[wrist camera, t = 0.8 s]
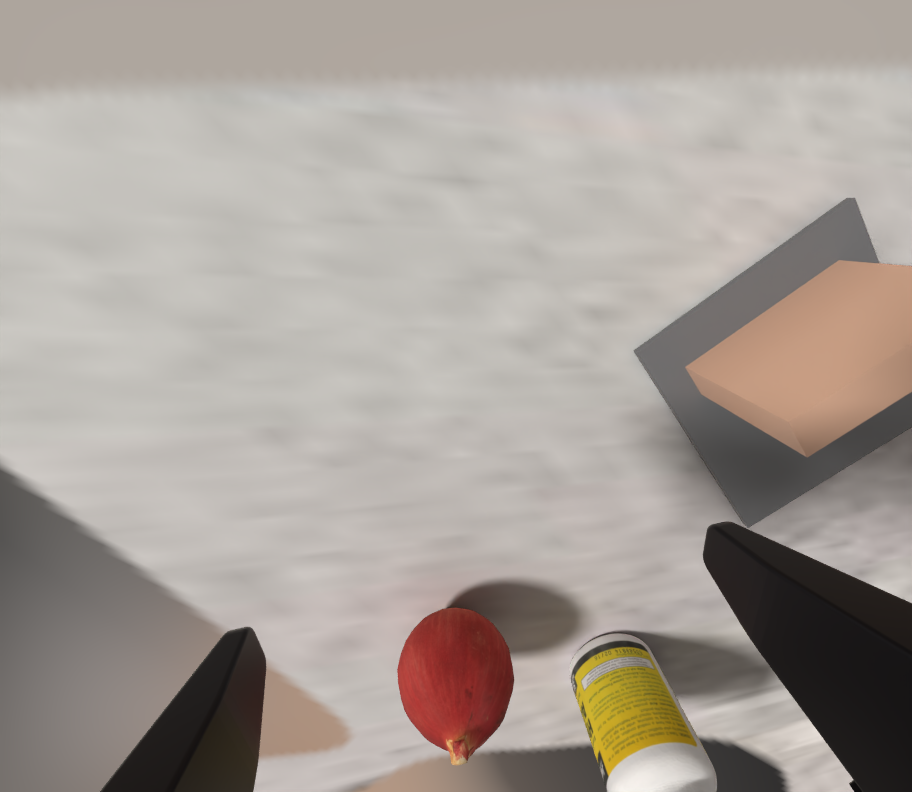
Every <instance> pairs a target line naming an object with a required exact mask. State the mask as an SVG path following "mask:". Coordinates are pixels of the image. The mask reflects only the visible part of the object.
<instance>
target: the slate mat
mask: <svg viewBox="0 0 912 792" xmlns="http://www.w3.org/2000/svg"><path fill="white" fill-rule="evenodd" d="M838 260H843V261H855V262H867V263H879V262H878V259H877V256H876V254H875V251H874V248H873V246H872V243H871V240H870V238H869V235H868V232H867V230H866V227H865V224H864V222H863V219H862V216H861V214H860V211H859V208H858V205H857V203H856V200H855V198H846V199H845V200H843V201H842V202H841V203H839V204H838V205H836V206H835V207H834V208H832V209H831V210H830V211H828V212H827V213H825V214H824V215H823V216H821V217H820V218H818V219H817V220H816V221H814V222H813V223H811V224H810V225H809V226H807V227H806V228H804V229H803V230H802V231H800V232H799V233H797V234H796V235H795V236H793V237H792V238H790V239H789V240H788V241H786V242H785V243H783V244H782V245H781V246H779V247H778V248H776V249H775V250H774V251H772V252H771V253H769V254H768V255H767V256H765V257H764V258H763V259H761V260H760V261H758V262H757V263H756V264H754V265H753V266H751V267H750V268H749V269H747V270H746V271H744V272H743V273H742V274H740V275H739V276H737V277H736V278H735V279H733V280H732V281H730V282H729V283H728V284H726V285H725V286H723V287H722V288H721V289H719V290H718V291H716V292H715V293H714V294H712V295H711V296H709V297H708V298H707V299H705V300H704V301H702V302H701V303H700V304H698V305H697V306H695V307H694V308H693V309H691V310H690V311H689V312H687V313H686V314H684V315H683V316H682V317H680V318H679V319H677V320H676V321H675V322H673V323H672V324H670V325H669V326H668V327H666V328H665V329H663V330H662V331H661V332H659V333H658V334H656V335H655V336H654V337H652V338H651V339H649V340H648V341H647V342H645V343H644V344H642V345H641V346H640V347H638V348H637V349H635V350H634V352H635V354H636V355H637V357H638V359H639V360H640V362H641V363H642V365H643V366H644V368H645V370H646V371H647V373H648V374H649V376H650V377H651V379H652V381H653V382H654V384H655V385H656V387H657V388H658V390H659V392H660V393H661V395H662V396H663V398H664V399H665V401H666V403H667V404H668V406H669V407H670V409H671V410H672V412H673V414H674V415H675V417H676V418H677V420H678V421H679V423H680V425H681V426H682V428H683V429H684V431H685V432H686V434H687V436H688V437H689V439H690V440H691V442H692V443H693V445H694V447H695V448H696V450H697V451H698V453H699V454H700V456H701V458H702V459H703V461H704V462H705V464H706V465H707V467H708V469H709V470H710V472H711V473H712V475H713V476H714V478H715V480H716V481H717V483H718V484H719V486H720V487H721V489H722V491H723V492H724V494H725V495H726V497H727V498H728V500H729V502H730V503H731V505H732V506H733V508H734V509H735V511H736V513H737V514H738V516H739V517H740V519H741V520H742V522H743V524H745V525H746V526H747V527H748V528H749V527H750V526H752V525H754V524H755V523H757V522H758V521H760V520H762V519H763V518H765V517H767V516H768V515H770V514H771V513H773V512H775V511H776V510H778V509H780V508H781V507H783V506H784V505H786V504H788V503H789V502H791V501H793V500H794V499H796V498H797V497H799V496H801V495H802V494H804V493H805V492H807V491H809V490H810V489H812V488H814V487H815V486H817V485H818V484H820V483H822V482H823V481H825V480H827V479H828V478H830V477H831V476H833V475H835V474H836V473H838V472H840V471H841V470H843V469H844V468H846V467H848V466H849V465H851V464H853V463H854V462H856V461H857V460H859V459H861V458H862V457H864V456H865V455H867V454H869V453H870V452H872V451H874V450H875V449H877V448H878V447H880V446H882V445H883V444H885V443H887V442H888V441H890V440H891V439H893V438H895V437H896V436H898V435H900V434H901V433H903V432H904V431H906V430H908V429H909V428H911V427H912V392H911V393H909V394H907V395H906V396H904V397H903V398H901V399H899V400H898V401H896V402H895V403H893V404H892V405H890V406H888V407H887V408H885V409H884V410H882V411H880V412H879V413H877V414H876V415H874V416H872V417H871V418H869V419H868V420H866V421H865V422H863V423H861V424H860V425H858V426H857V427H855V428H853V429H852V430H850V431H849V432H847V433H845V434H844V435H842V436H841V437H839V438H838V439H836V440H834V441H833V442H831V443H830V444H828V445H826V446H825V447H823V448H822V449H820V450H818V451H817V452H815V453H814V454H812V455H811V456H809V457H805V456H804V455H802V454H800V453H799V452H797V451H795V450H794V449H792V448H790V447H789V446H787V445H785V444H784V443H782V442H780V441H779V440H777V439H775V438H774V437H772V436H770V435H769V434H767V433H765V432H764V431H762V430H760V429H759V428H757V427H755V426H753V425H752V424H750V423H748V422H747V421H745V420H743V419H742V418H740V417H738V416H737V415H735V414H733V413H732V412H730V411H728V410H727V409H725V408H723V407H722V406H720V405H718V404H717V403H715V402H713V401H712V400H710V399H708V398H707V397H705V396H703V395H701V393H700V391H699V390H698V388H697V386H696V385H695V383H694V381H693V380H692V378H691V376H690V375H689V373H688V371H687V370H686V368H685V367H686V366H687V365H689V364H690V363H692V362H693V361H695V360H696V359H697V358H699V357H700V356H702V355H703V354H705V353H706V352H708V351H709V350H710V349H712V348H713V347H715V346H716V345H718V344H719V343H720V342H722V341H723V340H725V339H726V338H728V337H729V336H731V335H732V334H733V333H735V332H736V331H738V330H739V329H741V328H742V327H743V326H745V325H746V324H748V323H749V322H751V321H752V320H754V319H755V318H756V317H758V316H759V315H761V314H762V313H764V312H765V311H766V310H768V309H769V308H771V307H772V306H774V305H775V304H777V303H778V302H779V301H781V300H782V299H784V298H785V297H787V296H788V295H789V294H791V293H792V292H794V291H795V290H797V289H798V288H800V287H801V286H802V285H804V284H805V283H807V282H808V281H810V280H811V279H813V278H814V277H815V276H817V275H818V274H820V273H821V272H823V271H824V270H825V269H827V268H828V267H830V266H831V265H833V264H834V263H836V262H837V261H838Z"/></svg>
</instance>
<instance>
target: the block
mask: <svg viewBox="0 0 912 792" xmlns="http://www.w3.org/2000/svg"><path fill="white" fill-rule="evenodd" d="M685 368H686V370H687V371H688V373H689V375H690V376H691V378H692V380H693V381H694V383H695V385H696V386H697V388H698V390H699V391H700V393H701V395H703V396H705V397H707V398H708V399H710V400H712V401H713V402H715V403H717V404H718V405H720V406H722V407H723V408H725V409H727V410H728V411H730V412H732V413H733V414H735V415H737V416H738V417H740V418H742V419H743V420H745V421H747V422H748V423H750V424H752V425H753V426H755V427H757V428H759V429H760V430H762V431H764V432H765V433H767V434H769V435H770V436H772V437H774V438H775V439H777V440H779V441H780V442H782V443H784V444H785V445H787V446H789V447H790V448H792V449H794V450H795V451H797V452H799V453H800V454H802V455H804V456H805V457H809V456H811V455H812V454H814V453H815V452H817V451H818V450H820V449H822V448H823V447H825V446H826V445H828V444H830V443H831V442H833V441H834V440H836V439H838V438H839V437H841V436H842V435H844V434H845V433H847V432H849V431H850V430H852V429H853V428H855V427H857V426H858V425H860V424H861V423H863V422H865V421H866V420H868V419H869V418H871V417H872V416H874V415H876V414H877V413H879V412H880V411H882V410H884V409H885V408H887V407H888V406H890V405H892V404H893V403H895V402H896V401H898V400H899V399H901V398H903V397H904V396H906V395H907V394H909V393H911V392H912V266H903V265H891V264H879V263H867V262H855V261H843V260H838V261H837V262H836V263H834V264H833V265H831V266H830V267H828V268H827V269H825V270H824V271H823V272H821V273H820V274H818V275H817V276H815V277H814V278H813V279H811V280H810V281H808V282H807V283H805V284H804V285H802V286H801V287H800V288H798V289H797V290H795V291H794V292H792V293H791V294H789V295H788V296H787V297H785V298H784V299H782V300H781V301H779V302H778V303H777V304H775V305H774V306H772V307H771V308H769V309H768V310H766V311H765V312H764V313H762V314H761V315H759V316H758V317H756V318H755V319H754V320H752V321H751V322H749V323H748V324H746V325H745V326H743V327H742V328H741V329H739V330H738V331H736V332H735V333H733V334H732V335H731V336H729V337H728V338H726V339H725V340H723V341H722V342H720V343H719V344H718V345H716V346H715V347H713V348H712V349H710V350H709V351H708V352H706V353H705V354H703V355H702V356H700V357H699V358H697V359H696V360H695V361H693V362H692V363H690V364H689V365H687V366H686V367H685Z"/></svg>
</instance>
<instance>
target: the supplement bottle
mask: <svg viewBox="0 0 912 792" xmlns="http://www.w3.org/2000/svg"><path fill="white" fill-rule="evenodd" d="M569 673H570V679H571V683H572V687H573V690H574V693H575V696H576V699H577V701H578V704H579V707H580V711H581V713H582V716H583V719H584V722H585V726H586V728H587V732H588V734H589V737H590V741H591V743H592V746H593V749H594V753H595V755H596V759H597V761H598V765H599V767H600V770H601V774H602V777H603V780H604V783H605V786H606V789H607V791H608V792H716V790H717V779H716V774H715V770H714V768H713V766H712V764H711V762H710V760H709V757H708V755H707V754H706V752H705V750H704V748H703V746H702V744H701V742H700V741H699V739H698V737H697V735H696V733H695V731H694V729H693V728H692V726H691V724H690V722H689V720H688V718H687V717H686V715H685V713H684V711H683V709H682V708H681V706H680V704H679V702H678V700H677V698H676V696H675V694H674V693H673V691H672V689H671V687H670V685H669V683H668V681H667V680H666V678H665V676H664V674H663V672H662V670H661V668H660V666H659V664H658V663H657V661H656V659H655V657H654V655H653V654H652V652H651V650H650V649H649V647H648V646H647V645H646V644H645V643H644V642H643V641H642V640H640V639H638V638H636V637H634V636H631V635H627V634H618V633H615V634H608V635H604V636H601V637H598V638H595V639H593V640H591V641H590V642H588V643H587V644H585V645H584V646H583V647H582V648H581V649H580V650H579V651H578V652H577V653H576V654H575V656H574V657H573V659H572V661H571V664H570V670H569Z"/></svg>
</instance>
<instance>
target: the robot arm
mask: <svg viewBox="0 0 912 792" xmlns="http://www.w3.org/2000/svg"><path fill="white" fill-rule="evenodd" d="M703 560H704V563H705V565H706V567H707V569H708V571H709V573H710V574H711V576H712V577H713V579H714V581H715V582H716V584H717V586H718V587H719V589H720V591H721V592H722V594H723V596H724V597H725V599H726V601H727V602H728V604H729V605H730V607H731V609H732V610H733V612H734V614H735V615H736V617H737V619H738V620H739V622H740V624H741V625H742V627H743V628H744V630H745V632H746V633H747V635H748V636H749V638H750V639H751V641H752V642H753V643H754V645H755V646H756V648H757V649H758V651H759V652H760V653H761V655H762V656H763V657H764V659H765V660H766V661H767V663H768V664H769V665H770V667H771V668H772V670H773V671H774V672H775V674H776V675H777V676H778V678H779V679H780V680H781V682H782V683H783V684H784V686H785V687H786V689H787V690H788V691H789V693H790V694H791V695H792V697H793V698H794V699H795V701H796V702H797V703H798V705H799V706H800V708H801V709H802V710H803V712H804V713H805V714H806V716H807V717H808V718H809V720H810V721H811V722H812V724H813V725H814V726H815V728H816V729H817V731H818V732H819V733H820V735H821V736H822V737H823V739H824V740H825V741H826V743H827V744H828V745H829V747H830V748H831V750H832V751H833V752H834V754H835V755H836V756H837V758H838V759H839V760H840V762H841V763H842V764H843V766H844V767H845V769H846V770H847V771H848V773H849V774H850V775H851V777H852V778H853V779H854V780H853V781H852V782H850V783H849V784H850V786H851V787H852V789H853V790H854V792H912V603H910V602H908V601H905V600H903V599H901V598H899V597H896V596H894V595H892V594H890V593H888V592H885V591H883V590H881V589H879V588H877V587H874V586H872V585H870V584H868V583H866V582H863V581H861V580H859V579H857V578H854V577H852V576H850V575H848V574H846V573H843V572H841V571H839V570H837V569H835V568H832V567H830V566H828V565H826V564H823V563H821V562H819V561H817V560H815V559H812V558H810V557H808V556H806V555H804V554H801V553H799V552H797V551H795V550H793V549H790V548H788V547H786V546H784V545H781V544H779V543H777V542H775V541H773V540H770V539H768V538H766V537H764V536H762V535H759V534H757V533H755V532H753V531H750V530H748V529H746V528H744V527H742V526H739V525H737V524H735V523H732V522H722V523H717V524H712V525H710V526H709V527H708V529H707V533H706V539H705V545H704V550H703ZM265 676H266V658H265V655H264V652H263V650H262V648H261V645H260V643H259V641H258V639H257V636H256V634H255V632H254V630H253V629H252V628H251V627H244V628H239V629H235V630H231V631H228V632H227V633H225V634H224V635H223V636H222V638H221V639H220V640H219V642H218V643H217V644H216V645H215V647H214V648H213V649H212V650H211V652H210V653H209V654H208V656H207V657H206V658H205V659H204V661H203V662H202V663H201V664H200V666H199V667H198V668H197V669H196V671H195V672H194V673H193V674H192V676H191V677H190V678H189V679H188V681H187V682H186V683H185V685H184V686H183V687H182V688H181V690H180V691H179V692H178V693H177V695H176V696H175V697H174V699H173V700H172V701H171V703H170V704H169V705H168V706H167V707H166V709H165V710H164V711H163V712H162V714H161V715H160V717H159V718H158V719H157V720H156V721H155V723H154V724H153V725H152V726H151V728H150V729H149V730H148V731H147V733H146V734H145V735H144V737H143V738H142V739H141V740H140V742H139V743H138V744H137V745H136V747H135V748H134V749H133V750H132V752H131V753H130V754H129V756H128V757H127V758H126V759H125V761H124V762H123V763H122V764H121V766H120V767H119V768H118V770H117V771H116V772H115V773H114V775H113V776H112V777H111V778H110V780H109V781H108V782H107V783H106V785H105V786H104V787H103V788H102V790H101V791H100V792H253V790H254V784H255V778H256V772H257V766H258V758H259V748H260V737H261V723H262V712H263V700H264V688H265Z"/></svg>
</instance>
